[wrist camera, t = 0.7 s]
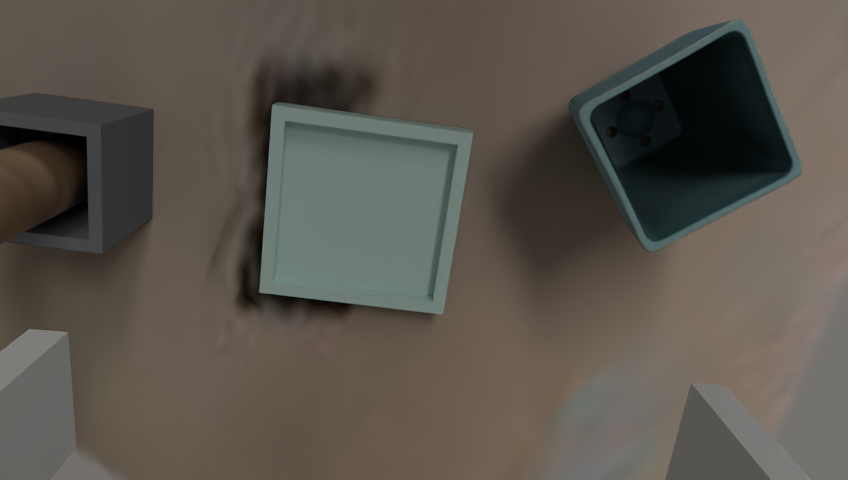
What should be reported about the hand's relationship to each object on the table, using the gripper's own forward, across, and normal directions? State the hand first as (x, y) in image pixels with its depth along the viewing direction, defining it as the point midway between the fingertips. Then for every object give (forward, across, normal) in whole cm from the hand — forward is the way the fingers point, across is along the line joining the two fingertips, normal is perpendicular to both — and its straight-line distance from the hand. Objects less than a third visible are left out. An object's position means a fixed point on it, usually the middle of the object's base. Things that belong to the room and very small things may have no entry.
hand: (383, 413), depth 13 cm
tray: (+28, -2, -3) cm, 28 cm away
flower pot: (+28, +14, +4) cm, 32 cm away
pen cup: (+28, -19, -2) cm, 34 cm away
